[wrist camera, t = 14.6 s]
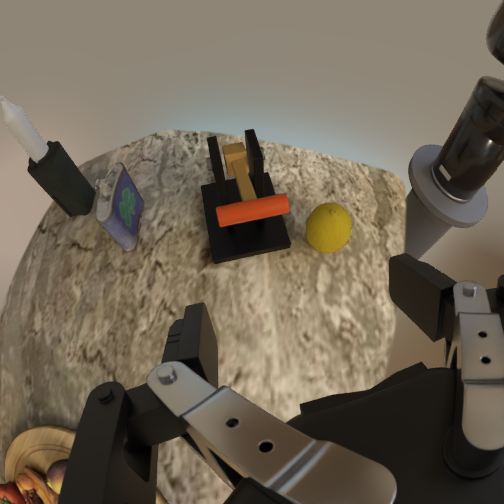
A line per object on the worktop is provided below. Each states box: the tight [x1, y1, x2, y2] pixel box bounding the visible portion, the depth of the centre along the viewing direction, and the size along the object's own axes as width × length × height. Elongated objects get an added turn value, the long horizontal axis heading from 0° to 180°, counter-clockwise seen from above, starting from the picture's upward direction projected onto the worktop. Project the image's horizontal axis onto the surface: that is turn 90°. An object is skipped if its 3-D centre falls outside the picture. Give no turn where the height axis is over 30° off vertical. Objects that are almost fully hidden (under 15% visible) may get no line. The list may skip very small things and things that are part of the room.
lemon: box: [306, 203, 352, 253], centre depth 35 cm, size 6×6×8 cm
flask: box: [95, 163, 145, 252], centre depth 37 cm, size 9×3×11 cm, turn 1°
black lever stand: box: [201, 129, 291, 264], centre depth 35 cm, size 12×10×14 cm
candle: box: [0, 95, 96, 217], centre depth 32 cm, size 5×5×25 cm
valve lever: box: [216, 142, 289, 227], centre depth 27 cm, size 12×5×2 cm, turn 12°
